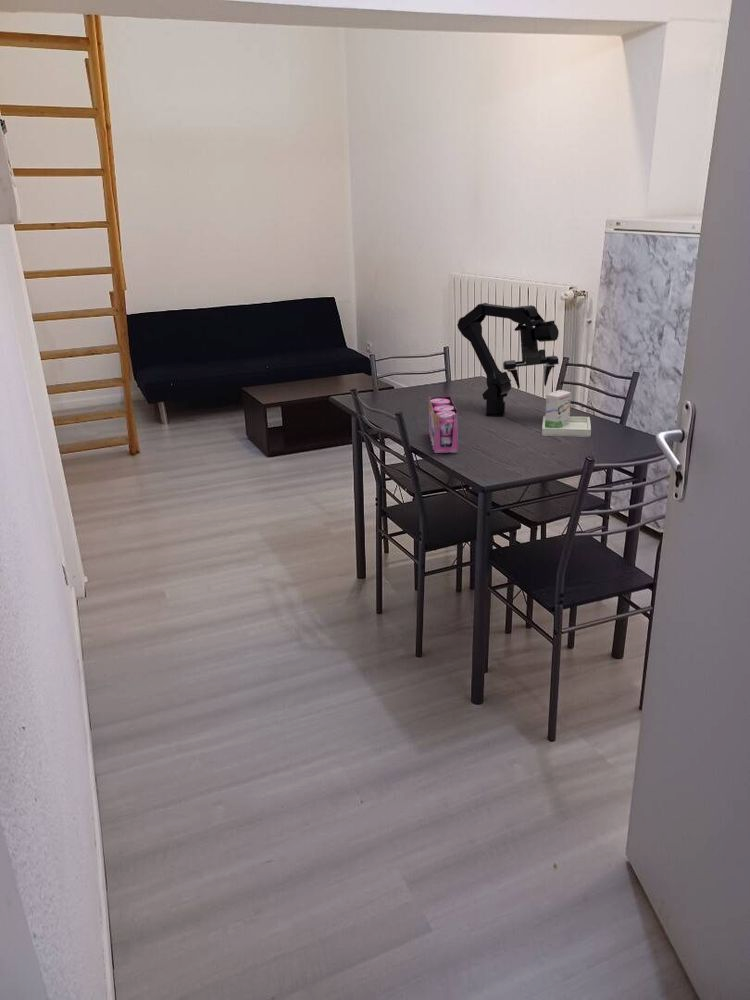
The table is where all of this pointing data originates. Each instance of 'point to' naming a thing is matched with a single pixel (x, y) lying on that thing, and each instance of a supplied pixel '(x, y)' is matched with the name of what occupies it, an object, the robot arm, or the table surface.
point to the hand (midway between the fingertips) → (532, 387)
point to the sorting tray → (570, 428)
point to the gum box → (443, 424)
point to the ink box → (557, 409)
